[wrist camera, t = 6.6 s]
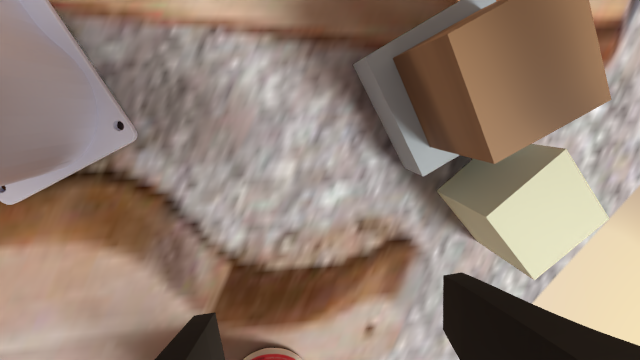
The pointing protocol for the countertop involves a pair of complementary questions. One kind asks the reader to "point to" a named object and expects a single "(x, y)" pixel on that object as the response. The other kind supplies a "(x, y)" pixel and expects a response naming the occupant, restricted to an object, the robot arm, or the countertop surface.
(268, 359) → the pill bottle
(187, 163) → the countertop surface
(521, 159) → the sage cube
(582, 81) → the walnut cube
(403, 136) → the base block
